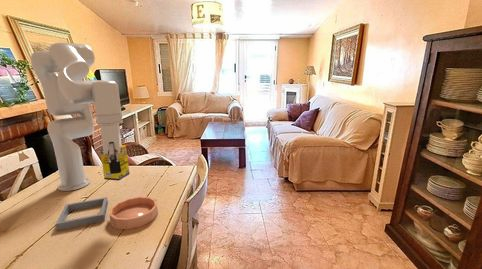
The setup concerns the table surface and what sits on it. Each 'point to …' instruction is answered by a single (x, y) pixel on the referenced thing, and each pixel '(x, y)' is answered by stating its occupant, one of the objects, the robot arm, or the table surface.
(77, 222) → the open square frame
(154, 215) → the bowl
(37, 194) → the table surface
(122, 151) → the supplement box
